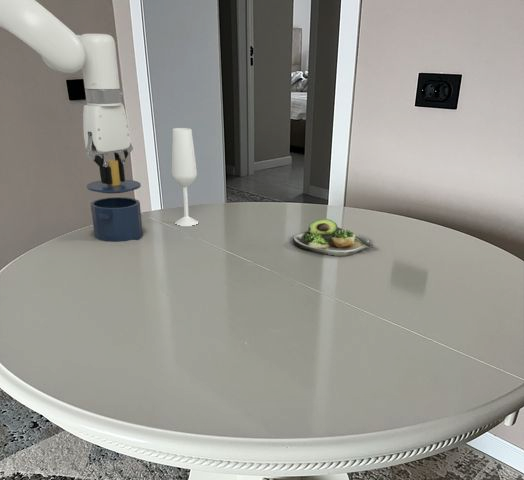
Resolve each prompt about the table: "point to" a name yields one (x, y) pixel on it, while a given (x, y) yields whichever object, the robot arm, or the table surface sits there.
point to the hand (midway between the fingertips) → (113, 181)
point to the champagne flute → (184, 167)
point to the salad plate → (331, 239)
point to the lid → (114, 182)
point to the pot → (117, 219)
